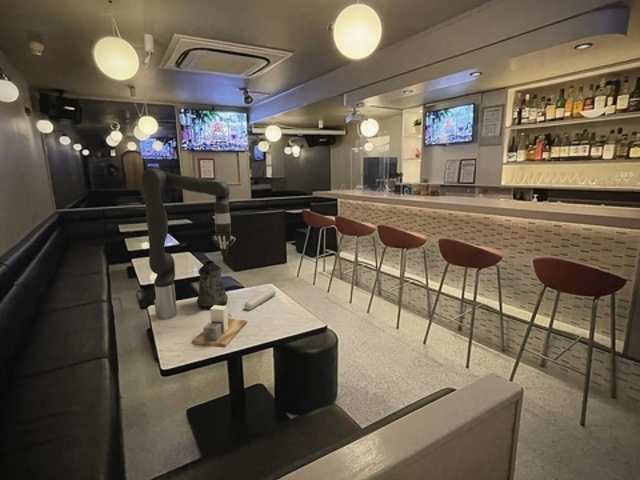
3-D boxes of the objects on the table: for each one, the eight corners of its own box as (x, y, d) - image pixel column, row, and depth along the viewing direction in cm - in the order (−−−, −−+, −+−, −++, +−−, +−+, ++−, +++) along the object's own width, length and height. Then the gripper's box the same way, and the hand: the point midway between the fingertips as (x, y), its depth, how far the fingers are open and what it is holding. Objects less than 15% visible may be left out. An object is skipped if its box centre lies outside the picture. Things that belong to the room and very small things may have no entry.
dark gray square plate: (211, 332, 163) (211, 322, 162) (213, 331, 164) (212, 321, 163) (222, 333, 162) (221, 323, 161) (223, 332, 163) (222, 322, 162)
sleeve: (211, 331, 164) (210, 308, 162) (215, 327, 168) (214, 305, 166) (224, 332, 163) (223, 309, 161) (228, 328, 167) (227, 306, 165)
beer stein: (222, 296, 211) (220, 256, 206) (233, 308, 195) (231, 264, 190) (194, 302, 203) (190, 260, 198) (202, 314, 187) (199, 269, 182)
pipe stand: (192, 343, 157) (191, 328, 156) (217, 320, 180) (216, 306, 179) (226, 346, 154) (225, 331, 153) (247, 322, 177) (246, 309, 176)
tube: (251, 305, 189) (276, 290, 211) (243, 300, 191) (269, 286, 213) (249, 313, 191) (274, 297, 213) (241, 309, 193) (267, 293, 215)
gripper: (206, 222, 175) (208, 256, 178) (232, 223, 172) (233, 258, 176) (213, 220, 182) (215, 253, 186) (238, 221, 179) (239, 254, 183)
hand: (224, 255), depth 181 cm, fingers closed
